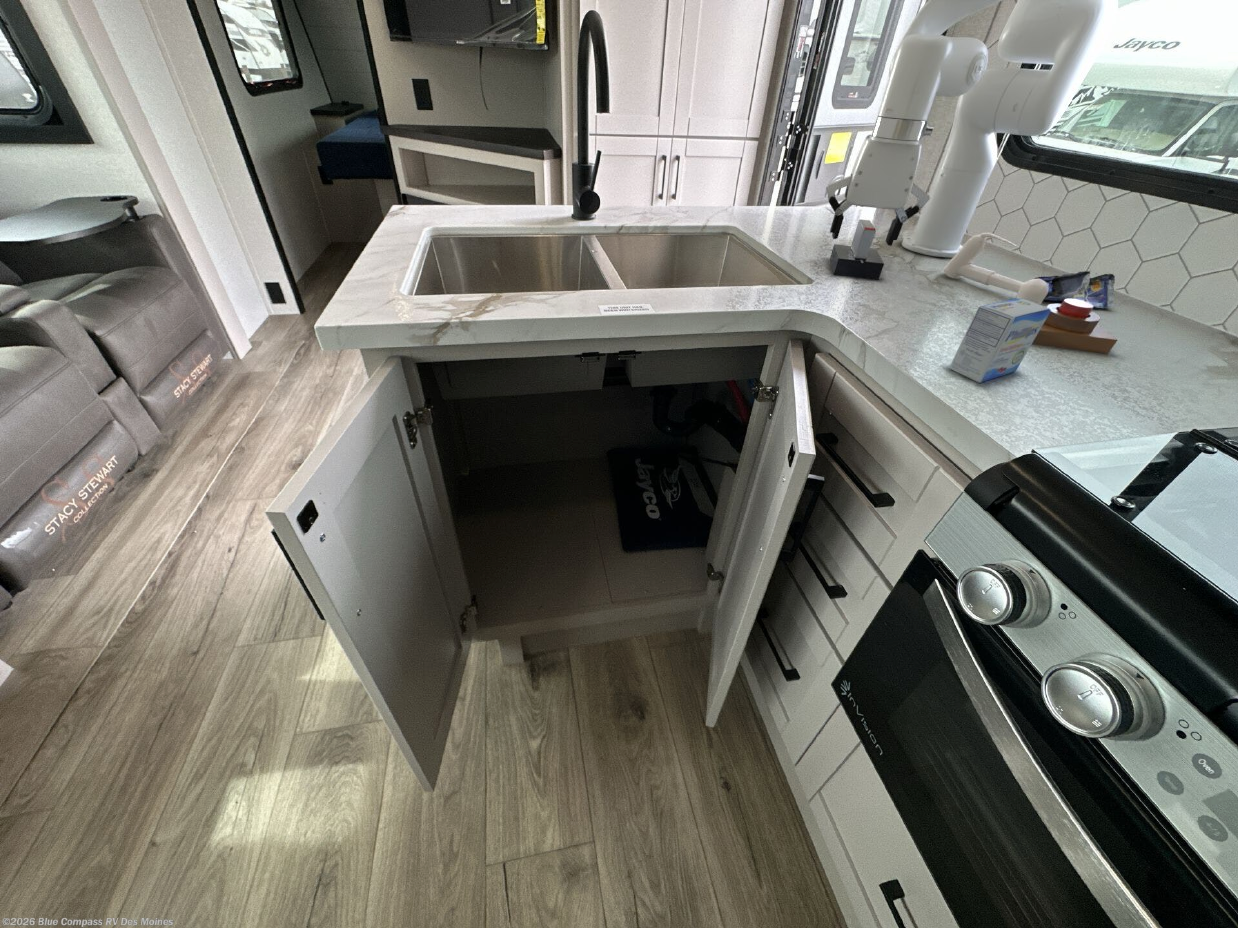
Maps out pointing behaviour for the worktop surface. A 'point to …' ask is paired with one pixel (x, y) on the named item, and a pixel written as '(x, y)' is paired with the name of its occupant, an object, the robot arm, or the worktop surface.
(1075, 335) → the button block
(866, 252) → the grey rectangular slab
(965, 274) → the faucet
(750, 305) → the worktop surface
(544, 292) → the worktop surface
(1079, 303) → the button
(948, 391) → the worktop surface
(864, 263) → the lever base
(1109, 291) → the snack package
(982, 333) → the medicine box
